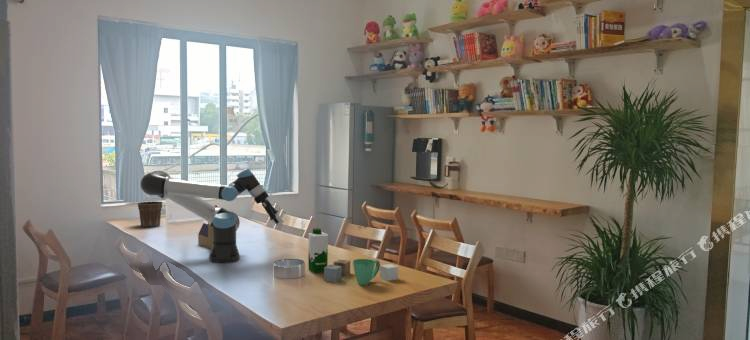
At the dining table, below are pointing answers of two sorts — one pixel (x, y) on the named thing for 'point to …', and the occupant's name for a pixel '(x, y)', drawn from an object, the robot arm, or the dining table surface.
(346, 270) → the walnut block
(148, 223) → the plant pot
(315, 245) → the soya milk
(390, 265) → the white cube
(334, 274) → the slate grey block
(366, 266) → the mug
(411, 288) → the dining table surface
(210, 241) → the toy building blocks
